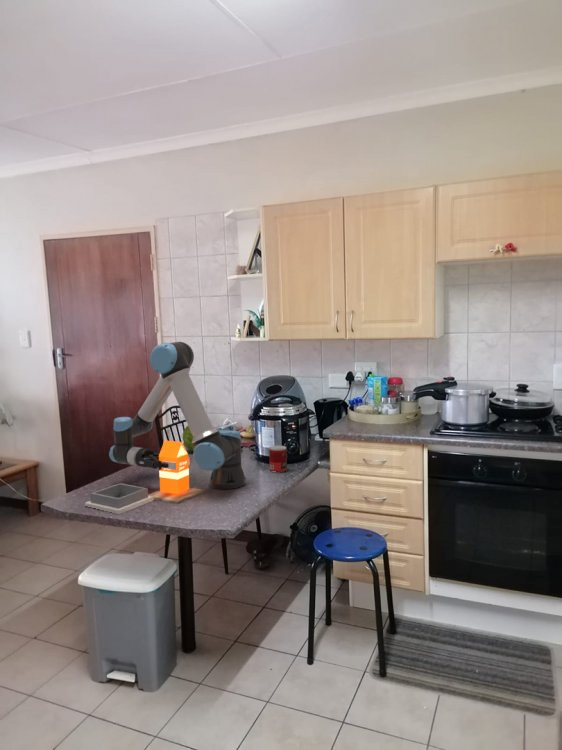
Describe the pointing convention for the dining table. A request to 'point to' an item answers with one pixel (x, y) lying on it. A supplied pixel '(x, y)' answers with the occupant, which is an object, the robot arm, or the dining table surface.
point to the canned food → (278, 458)
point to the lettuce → (188, 438)
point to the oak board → (176, 495)
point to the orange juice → (176, 478)
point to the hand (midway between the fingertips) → (183, 463)
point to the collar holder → (126, 502)
